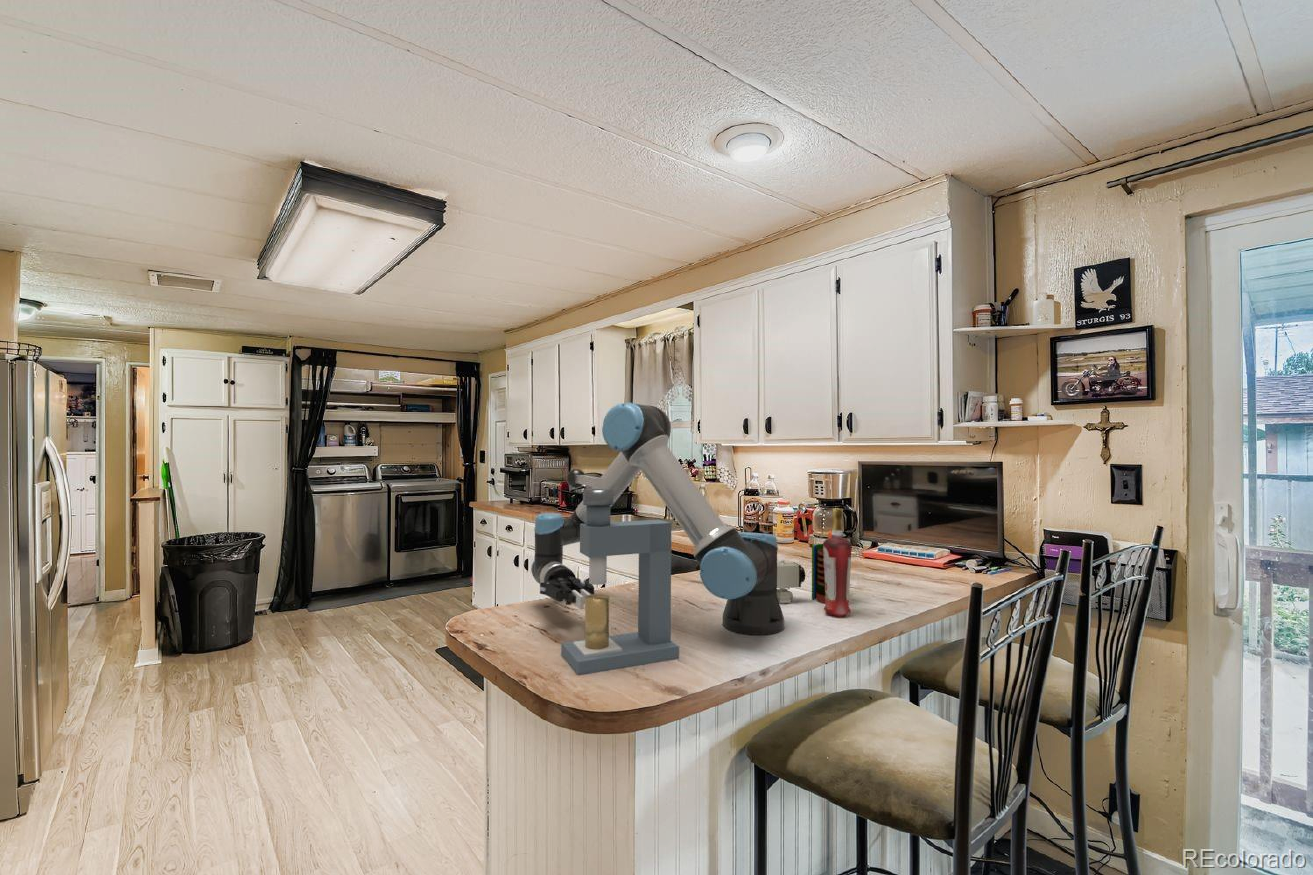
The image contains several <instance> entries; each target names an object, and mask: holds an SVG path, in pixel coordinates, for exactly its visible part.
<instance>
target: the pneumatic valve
mask: <svg viewBox="0 0 1313 875" xmlns="http://www.w3.org/2000/svg"><path fill="white" fill-rule="evenodd" d="M805 580H806V571H805V569H804V567H803V566H802V565H801V564H799V563H797V562H795V561H790V562H789V561H787V562H786V560H785V559H781V562H777V597H778V601H779V604H780V605H783V604H791V603H792V601H793V599H794V595H793V592H792V591H790V589H791V588H792V589H793V588H801V587H802V583H804V582H805Z"/></svg>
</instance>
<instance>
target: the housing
mask: <svg viewBox="0 0 1313 875" xmlns="http://www.w3.org/2000/svg"><path fill="white" fill-rule="evenodd" d="M609 636H610V595H608V594H603V593H594V594H592V595H587V596H586V597H585V604H584V639H585V647H586V648H588V649H594V650H598V649H604V648H607V647H608V646H609Z"/></svg>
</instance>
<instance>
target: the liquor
mask: <svg viewBox="0 0 1313 875" xmlns="http://www.w3.org/2000/svg"><path fill="white" fill-rule="evenodd" d="M831 513H832V514H831V516H832V528H831V531H832V538H830V539H828V538H827V539H826V540H824V541H823V542H822V544H823V553H824V573H825V604H824V607H823V610H824V611H825V612H826V613H827V614H828V616H831V617H834V618H844V617H846V616H848V614H850V613H851V610H852V609H851V608H850V588H851V587H850V586H851V585H850V583H851V569H852V553H853V552H852V546H853V543H852V542H850V540H848V539H846V538H844V531H843V516H844V514H843V513H844V509H843V508H832V512H831Z"/></svg>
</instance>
